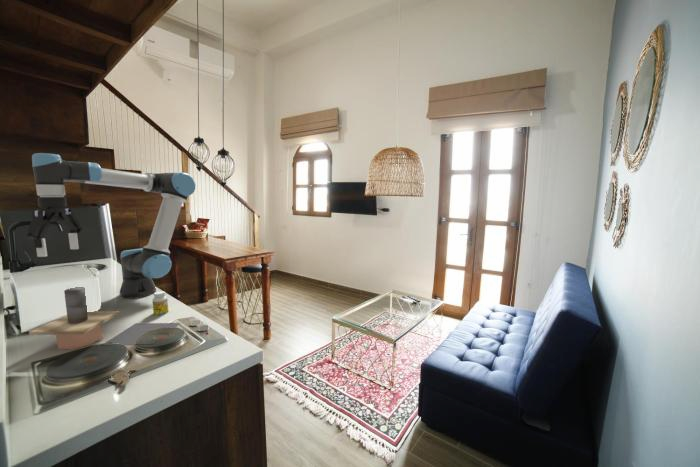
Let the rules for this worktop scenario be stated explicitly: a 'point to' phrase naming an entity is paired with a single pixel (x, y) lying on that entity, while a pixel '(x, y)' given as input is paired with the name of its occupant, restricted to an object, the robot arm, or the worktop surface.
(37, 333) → the oak lid
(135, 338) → the rubber mat
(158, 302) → the supplement bottle
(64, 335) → the terracotta bowl
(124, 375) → the jawbone
